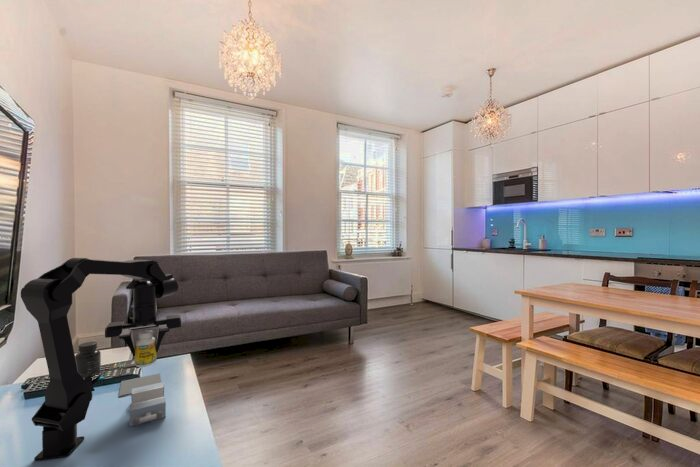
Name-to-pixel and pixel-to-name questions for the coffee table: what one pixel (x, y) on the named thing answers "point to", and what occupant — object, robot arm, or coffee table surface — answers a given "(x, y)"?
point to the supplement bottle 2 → (145, 349)
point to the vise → (147, 403)
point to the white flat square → (138, 383)
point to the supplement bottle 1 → (88, 359)
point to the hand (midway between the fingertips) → (145, 353)
